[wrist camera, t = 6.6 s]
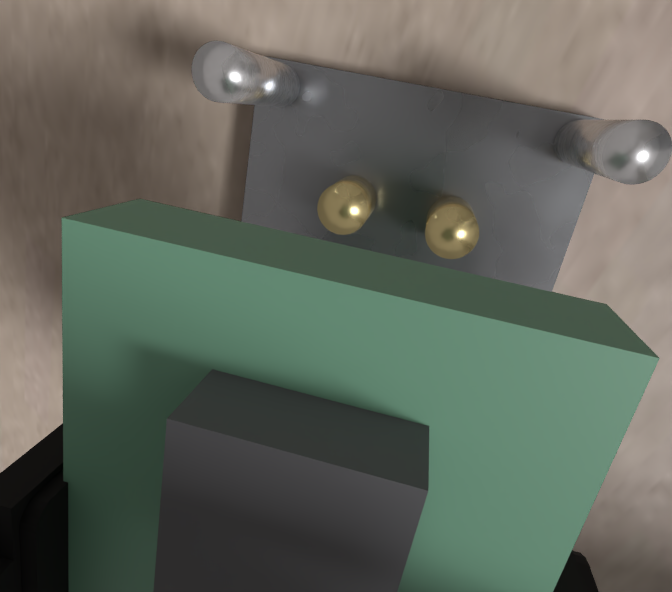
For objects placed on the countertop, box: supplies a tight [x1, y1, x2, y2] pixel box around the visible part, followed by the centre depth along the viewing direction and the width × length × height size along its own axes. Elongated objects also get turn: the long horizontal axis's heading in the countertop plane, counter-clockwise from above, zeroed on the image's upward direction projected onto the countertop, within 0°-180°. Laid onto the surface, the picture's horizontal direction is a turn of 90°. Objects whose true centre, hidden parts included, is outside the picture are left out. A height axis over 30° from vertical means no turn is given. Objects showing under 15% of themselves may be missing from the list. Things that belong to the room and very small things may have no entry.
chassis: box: [192, 41, 672, 292], centre depth 15 cm, size 14×10×6 cm
